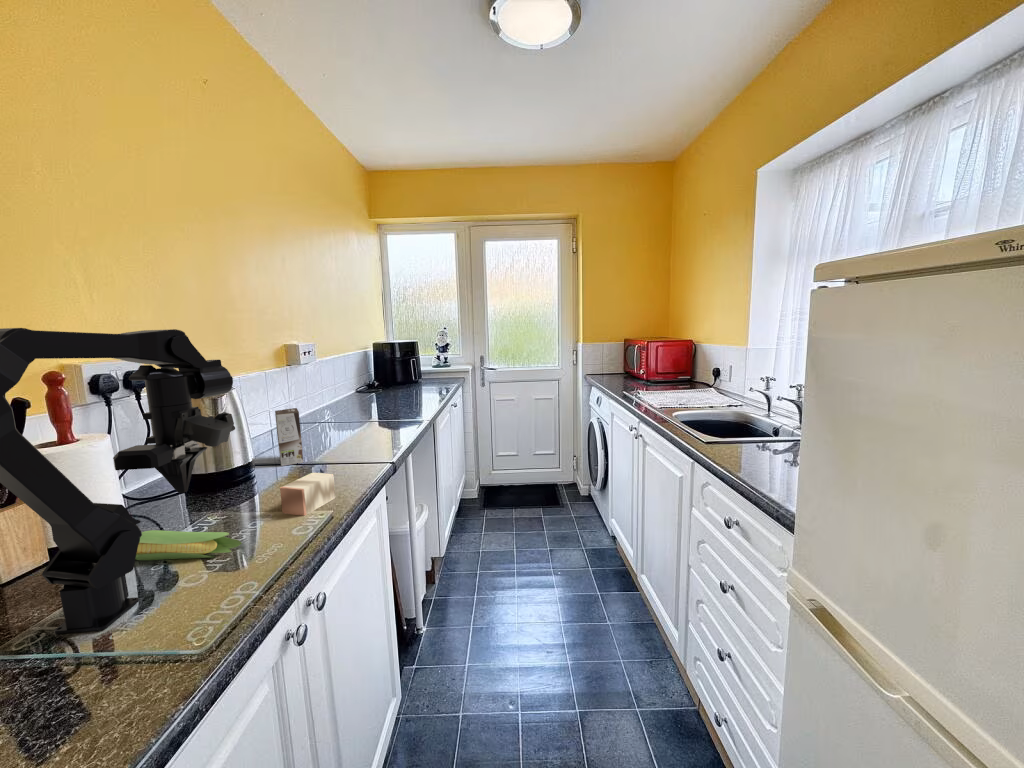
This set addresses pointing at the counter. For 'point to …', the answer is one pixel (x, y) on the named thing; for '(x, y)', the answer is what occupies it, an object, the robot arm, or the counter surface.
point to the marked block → (307, 493)
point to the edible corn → (182, 544)
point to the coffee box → (289, 436)
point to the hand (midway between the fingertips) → (182, 492)
